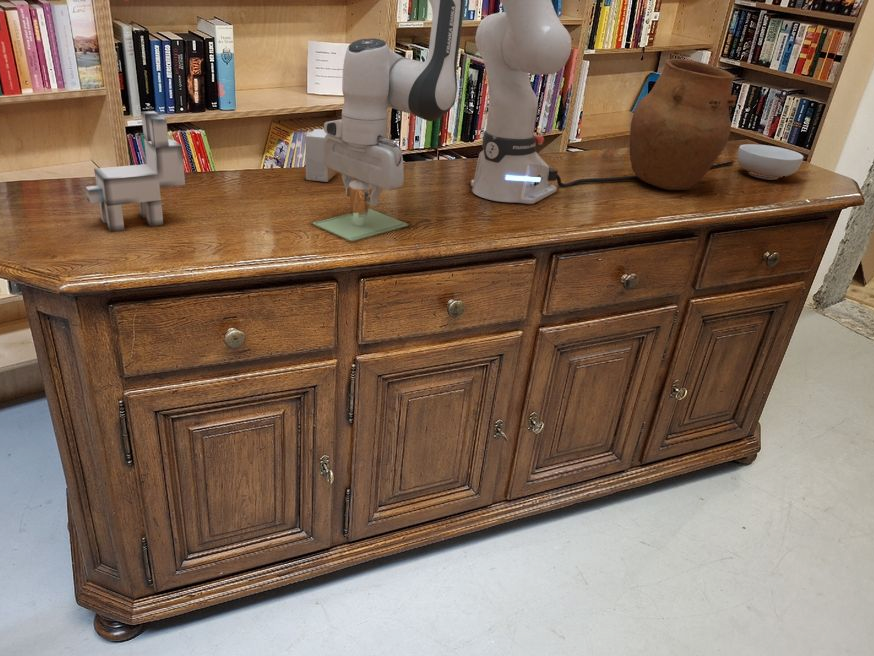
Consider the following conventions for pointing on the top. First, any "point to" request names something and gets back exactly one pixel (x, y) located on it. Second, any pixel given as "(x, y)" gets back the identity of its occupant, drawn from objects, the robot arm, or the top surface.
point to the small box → (317, 157)
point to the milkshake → (359, 201)
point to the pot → (681, 124)
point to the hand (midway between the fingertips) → (361, 200)
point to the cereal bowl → (768, 160)
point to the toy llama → (140, 177)
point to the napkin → (350, 232)
